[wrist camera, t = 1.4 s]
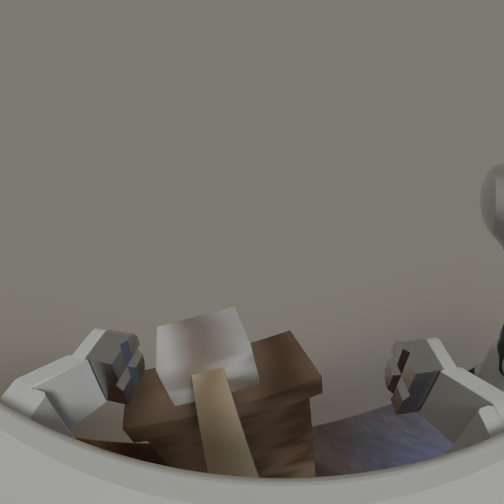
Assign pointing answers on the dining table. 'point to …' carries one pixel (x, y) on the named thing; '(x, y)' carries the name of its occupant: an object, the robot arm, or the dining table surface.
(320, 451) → the dining table surface
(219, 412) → the mallet
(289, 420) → the walnut stand
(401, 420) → the dining table surface
